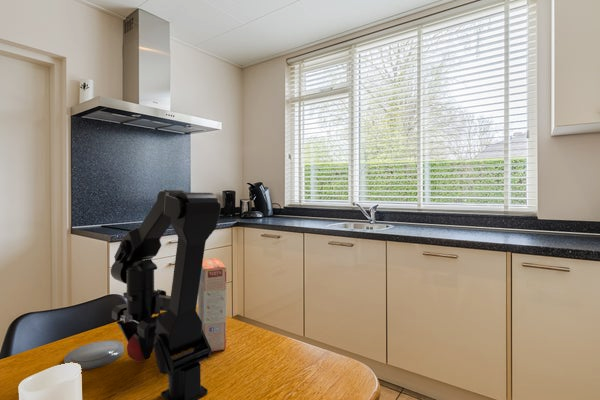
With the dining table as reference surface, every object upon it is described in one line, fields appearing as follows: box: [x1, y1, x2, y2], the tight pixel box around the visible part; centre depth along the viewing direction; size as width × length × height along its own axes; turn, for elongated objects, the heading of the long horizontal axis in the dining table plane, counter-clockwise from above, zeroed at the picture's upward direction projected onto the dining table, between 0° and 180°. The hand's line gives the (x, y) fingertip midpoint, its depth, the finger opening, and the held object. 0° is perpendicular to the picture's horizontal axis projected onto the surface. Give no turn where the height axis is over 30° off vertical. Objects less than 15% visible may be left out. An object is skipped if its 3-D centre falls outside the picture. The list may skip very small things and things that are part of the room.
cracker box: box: [197, 257, 227, 353], centre depth 85 cm, size 14×6×21 cm, turn 22°
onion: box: [126, 332, 155, 363], centre depth 74 cm, size 6×6×8 cm
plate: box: [63, 340, 125, 371], centre depth 76 cm, size 12×12×2 cm
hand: (141, 354), depth 74 cm, fingers closed on onion, 6 cm apart
